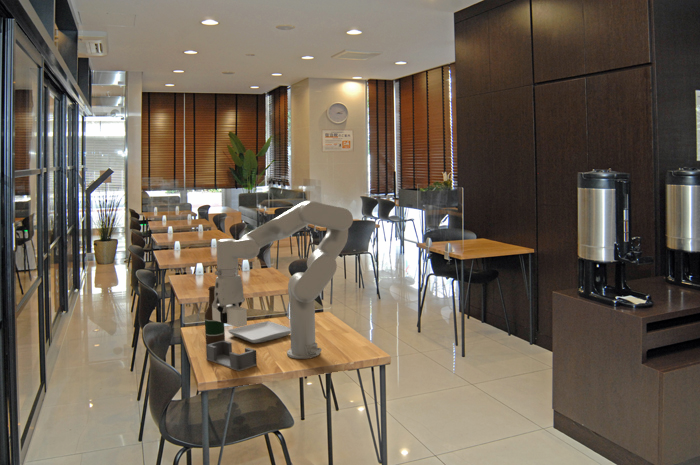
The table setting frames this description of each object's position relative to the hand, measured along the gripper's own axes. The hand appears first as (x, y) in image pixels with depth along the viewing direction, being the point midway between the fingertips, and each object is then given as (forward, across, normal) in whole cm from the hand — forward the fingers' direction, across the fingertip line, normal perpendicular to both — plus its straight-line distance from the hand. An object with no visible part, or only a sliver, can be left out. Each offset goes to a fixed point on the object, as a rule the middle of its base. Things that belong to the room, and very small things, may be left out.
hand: (229, 321), depth 204 cm
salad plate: (+16, +28, +18) cm, 37 cm away
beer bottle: (+16, +9, +24) cm, 30 cm away
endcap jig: (+15, 0, 0) cm, 15 cm away
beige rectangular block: (0, 0, 0) cm, 0 cm away
